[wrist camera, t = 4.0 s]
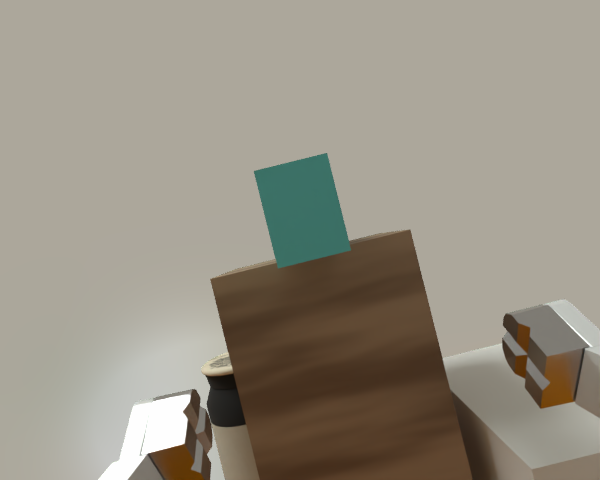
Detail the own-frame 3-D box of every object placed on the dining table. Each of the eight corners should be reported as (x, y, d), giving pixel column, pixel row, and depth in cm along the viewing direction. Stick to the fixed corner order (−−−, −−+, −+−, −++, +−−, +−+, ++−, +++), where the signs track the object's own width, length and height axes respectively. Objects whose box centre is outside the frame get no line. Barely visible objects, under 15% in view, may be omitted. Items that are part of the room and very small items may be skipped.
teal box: (351, 250, 17) (327, 153, 17) (277, 268, 17) (253, 171, 17) (324, 246, 37) (313, 201, 37) (290, 255, 37) (279, 209, 37)
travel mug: (340, 556, 37) (289, 351, 37) (250, 594, 35) (197, 379, 36) (317, 506, 45) (275, 336, 45) (241, 535, 43) (198, 359, 43)
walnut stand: (519, 666, 25) (410, 229, 25) (317, 715, 25) (210, 279, 25) (457, 545, 35) (379, 233, 35) (313, 581, 35) (236, 269, 35)
